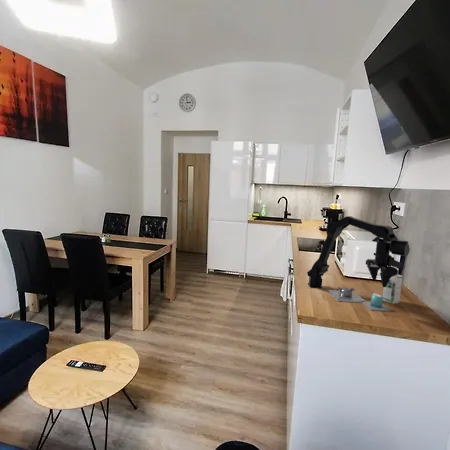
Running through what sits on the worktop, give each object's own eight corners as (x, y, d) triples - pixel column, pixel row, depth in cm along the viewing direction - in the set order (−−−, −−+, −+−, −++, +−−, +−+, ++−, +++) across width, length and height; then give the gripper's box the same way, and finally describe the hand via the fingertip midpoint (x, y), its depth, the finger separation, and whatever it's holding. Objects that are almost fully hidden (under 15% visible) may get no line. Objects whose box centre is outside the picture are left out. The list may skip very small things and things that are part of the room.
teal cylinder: (368, 304, 138) (369, 293, 138) (374, 303, 141) (375, 292, 140) (377, 308, 134) (379, 297, 134) (383, 306, 137) (385, 295, 136)
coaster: (371, 310, 133) (371, 309, 133) (362, 302, 142) (362, 301, 142) (390, 311, 133) (390, 310, 133) (380, 303, 142) (380, 302, 142)
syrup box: (381, 300, 148) (384, 273, 146) (389, 298, 150) (392, 272, 148) (391, 304, 142) (395, 276, 141) (399, 302, 145) (403, 275, 143)
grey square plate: (337, 301, 143) (338, 291, 142) (327, 291, 157) (328, 283, 156) (365, 302, 143) (366, 293, 142) (353, 292, 156) (354, 284, 156)
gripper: (412, 257, 125) (407, 291, 127) (388, 249, 144) (385, 279, 145) (386, 256, 125) (382, 290, 127) (366, 248, 144) (363, 277, 145)
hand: (379, 283), depth 136 cm, fingers open, 9 cm apart
